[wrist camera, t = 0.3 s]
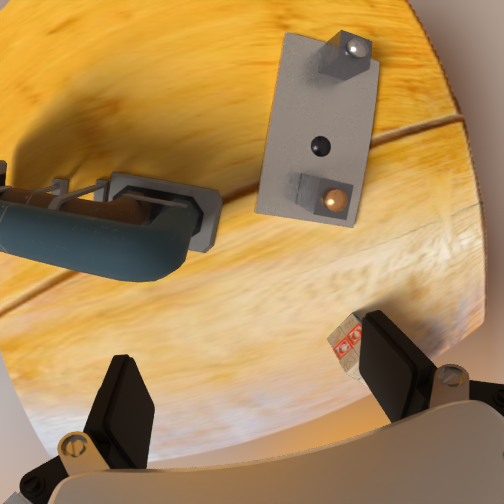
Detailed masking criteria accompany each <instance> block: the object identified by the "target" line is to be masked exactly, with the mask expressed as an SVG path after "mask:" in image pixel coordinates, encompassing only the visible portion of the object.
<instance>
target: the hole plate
mask: <svg viewBox="0 0 504 504" xmlns="http://www.w3.org/2000/svg"><path fill="white" fill-rule="evenodd" d="M325 44H326V43H325V42H322V41H318V40H315V39H311V38H308V37H304V36H300V35H296V34H292V33H288V32H286V33H285V34H284V37H283V43H282V49H281V54H280V60H279V66H278V72H277V78H276V84H275V90H274V95H273V101H272V107H271V113H270V119H269V125H268V131H267V137H266V143H265V149H264V155H263V161H262V167H261V173H260V179H259V185H258V191H257V197H256V203H255V209H254V212H255V213H258V214H265V215H272V216H279V217H286V218H293V219H299V220H306V221H312V222H319V223H325V224H331V225H337V226H343V227H349V228H353V227H354V223H355V218H356V214H357V209H358V204H359V199H360V195H361V190H362V185H363V179H364V174H365V169H366V163H367V157H368V151H369V145H370V139H371V132H372V125H373V118H374V111H375V103H376V95H377V86H378V76H379V65H380V62H378V61H376V60H373V59H371V61H370V69H369V70H367V71H365V72H363V73H361V74H359V75H357V76H354V77H352V78H350V79H348V80H346V81H344V80H341V79H338V78H334V77H331V76H328V75H324V74H321V73H318V66H319V59H320V52H321V47H322V46H323V45H325ZM302 174H307V175H312V176H317V177H322V178H327V179H331V180H336V181H340V182H344V183H347V184H351V185H354V187H353V192H352V197H351V201H350V206H349V211H348V216H347V220H342V219H336V218H331V217H325V216H319V215H313V214H312V213H310V212H309V211H307V210H305V209H304V208H302V207H300V206H299V205H297V204H296V203H297V198H298V193H299V187H300V182H301V176H302Z"/></svg>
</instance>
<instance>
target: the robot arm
mask: <svg viewBox="0 0 504 504" xmlns="http://www.w3.org/2000/svg"><path fill="white" fill-rule="evenodd" d="M359 372H360V375H361V376H362V378H363V379H364V381H365V382H366V384H367V386H368V387H369V389H370V390H371V392H372V393H373V395H374V396H375V398H376V399H377V401H378V402H379V404H380V406H381V407H382V409H383V410H384V412H385V413H386V415H387V416H388V418H389V420H390V421H391V424H388V425H386V426H383V427H380V428H377V429H375V430H372V431H369V432H366V433H363V434H360V435H357V436H355V437H351V438H348V439H345V440H341V441H338V442H335V443H331V444H328V445H324V446H320V447H316V448H312V449H308V450H304V451H300V452H296V453H291V454H287V455H282V456H277V457H272V458H266V459H260V460H255V461H248V462H241V463H233V464H225V465H216V466H205V467H192V468H171V469H146V467H147V460H148V453H149V445H150V438H151V432H152V425H153V419H154V413H155V407H154V403H153V401H152V399H151V397H150V395H149V393H148V390H147V388H146V386H145V384H144V381H143V379H142V377H141V375H140V372H139V370H138V368H137V365H136V363H135V360H134V359H133V358H132V357H131V358H130V357H129V355H127V354H125V355H115V356H114V357H113V359H112V361H111V363H110V366H109V368H108V371H107V373H106V375H105V378H104V380H103V383H102V385H101V387H100V389H99V390H98V393H97V395H96V398H95V400H94V403H93V406H92V408H91V411H90V414H89V416H88V419H87V422H86V425H85V427H84V430H83V432H78V431H77V432H71V433H69V434H67V435H65V436H64V437H63V438H62V439H61V440H60V442H59V444H58V448H57V450H58V454H59V455H58V456H56V457H55V458H53V459H51V460H50V461H48V462H46V463H44V464H42V465H41V466H39V467H37V468H35V469H33V470H32V471H30V472H28V473H27V474H25V475H24V476H23V478H22V479H21V481H20V492H19V493H17V492H14V493H13V494H12V495H11V496H10V497H9V498H8V499H7V500H6V501H5V502H4V503H3V504H504V384H496V383H488V382H481V381H473V380H469V374H468V372H467V371H466V370H465V369H464V368H463V367H461V366H458V365H454V364H446V365H443V366H441V367H439V368H437V367H436V366H435V365H434V363H432V361H431V360H430V359H429V358H428V357H427V356H426V355H425V354H424V353H423V352H422V351H421V350H420V349H419V348H418V347H417V346H416V345H415V344H414V343H413V342H412V341H411V340H410V339H409V338H408V337H407V336H406V335H405V334H404V333H403V332H402V331H401V330H400V329H399V328H398V327H397V326H396V325H395V324H394V323H393V322H392V321H391V320H390V319H389V318H388V317H387V316H386V315H385V314H384V313H383V312H382V311H380V310H377V311H373V312H369V313H367V314H366V316H365V317H364V318H363V319H362V331H361V345H360V357H359Z"/></svg>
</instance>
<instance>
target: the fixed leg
mask: <svg viewBox="0 0 504 504" xmlns="http://www.w3.org/2000/svg"><path fill="white" fill-rule="evenodd" d="M371 50H372V41H370V40H367V39H365V38H362V37H360V36H357V35H354V34H351V33H349V32H346V31H343V30H341V31H339V32H338V33H337V34H336V35H335V36H334V37H333V38H331V39H330V40H329V41H328V42H327V43H326V44H325V45H323V46H322V47H321V52H320V59H319V66H318V73H321V74H324V75H328V76H331V77H334V78H338V79H341V80H344V81H346V80H348V79H350V78H352V77H354V76H357V75H359V74H361V73H363V72H365V71H367V70H369V69H370V61H371Z"/></svg>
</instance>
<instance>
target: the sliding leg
mask: <svg viewBox="0 0 504 504" xmlns="http://www.w3.org/2000/svg"><path fill="white" fill-rule="evenodd" d="M353 187H354V185H351V184H347V183H344V182H340V181H336V180H331V179H327V178H322V177H317V176H312V175H307V174H302V176H301V182H300V187H299V193H298V198H297V203H296V204H297V205H299V206H300V207H302V208H304V209H305V210H307V211H309V212H310V213H312V214H313V215H319V216H325V217H331V218H336V219H342V220H347V216H348V211H349V206H350V201H351V197H352V192H353Z"/></svg>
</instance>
